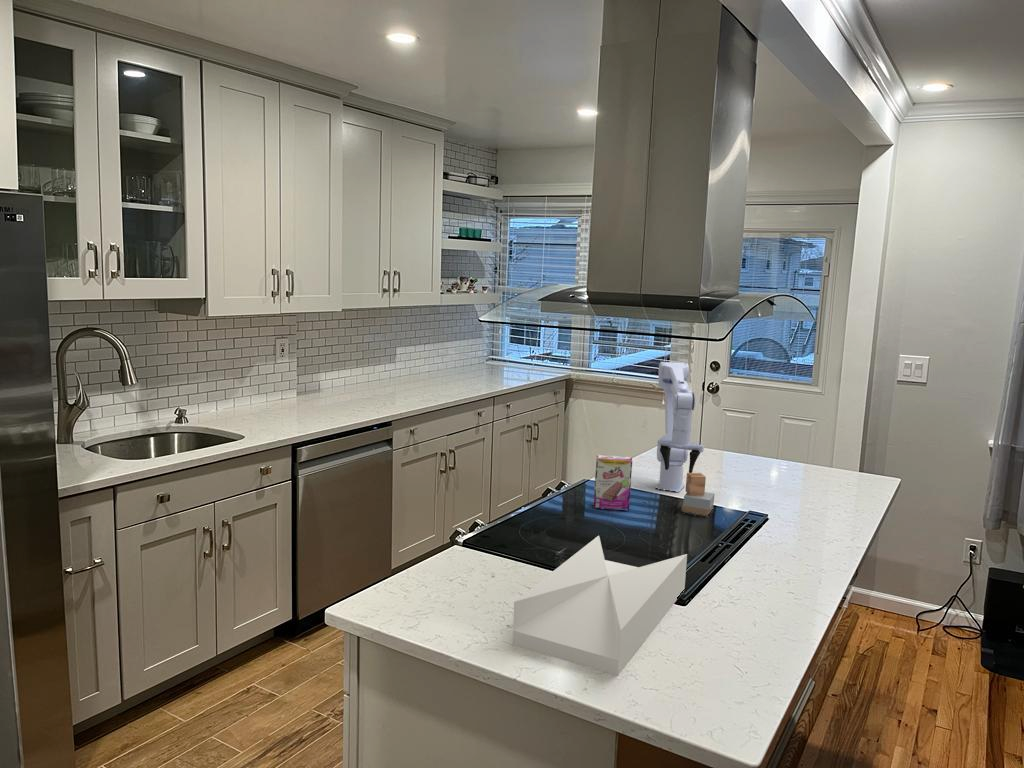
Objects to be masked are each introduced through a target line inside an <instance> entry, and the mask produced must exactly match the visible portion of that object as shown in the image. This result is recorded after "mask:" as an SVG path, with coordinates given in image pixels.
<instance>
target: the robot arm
mask: <svg viewBox="0 0 1024 768" xmlns="http://www.w3.org/2000/svg"><path fill="white" fill-rule="evenodd" d="M658 364H659V365H658V372H657V373H658V386H659V388H661V389H663V393H664V402H665V403H664V404H665V405H664V409H665V410H664V414H665V415H664V416H665V419H664V421H665V424H664V425H665V434H664V435H663V436H660V438H659V439H658V440H657V443H656V444H657V445H656V446H657V447H656V460H657V461H658V462H660V465H659V466H660V469H659V470H660V471H659V480H658V481H659V484H658V485H656V486H655V488H659V489H665V490H670V491H669V492H671V491H677V492H676V493H679V492H680V491H681V490H682V489H684V487H686V484H683V478H684V477H683V476H684V464H685V463H686V462H687V461H688V456H689V467H688V473H694V472H693V470H694V467H695V465H696V461H697V459H698V458H699V456H700V454H701V453H704V451H705V445H704V444H696V443H694V442H691V431H692V421H693V420H692V417H693V411H694V410H695V407H696V406H695V405H696V397H695V393H694V392H693V391H691V390H690V385H689V383H688V379H689V375H690V366H689V364H688V362H674V361H673V362H670V361H669V362H668V361H660V362H659V363H658ZM688 451H690V452H688ZM659 489H658V490H659ZM665 490H664V491H665Z"/></svg>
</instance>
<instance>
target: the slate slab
mask: <svg viewBox="0 0 1024 768" xmlns="http://www.w3.org/2000/svg"><path fill="white" fill-rule="evenodd" d="M714 504H715V493H713V492H706V491H705V493H704V496H690V495H689V494H688V493H687V492H686V493H685V494H684V495H683V503H682V505H683V506H689V507H695V508H702V509H708V510H710V508H711V507H712V505H713V506H714Z"/></svg>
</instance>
